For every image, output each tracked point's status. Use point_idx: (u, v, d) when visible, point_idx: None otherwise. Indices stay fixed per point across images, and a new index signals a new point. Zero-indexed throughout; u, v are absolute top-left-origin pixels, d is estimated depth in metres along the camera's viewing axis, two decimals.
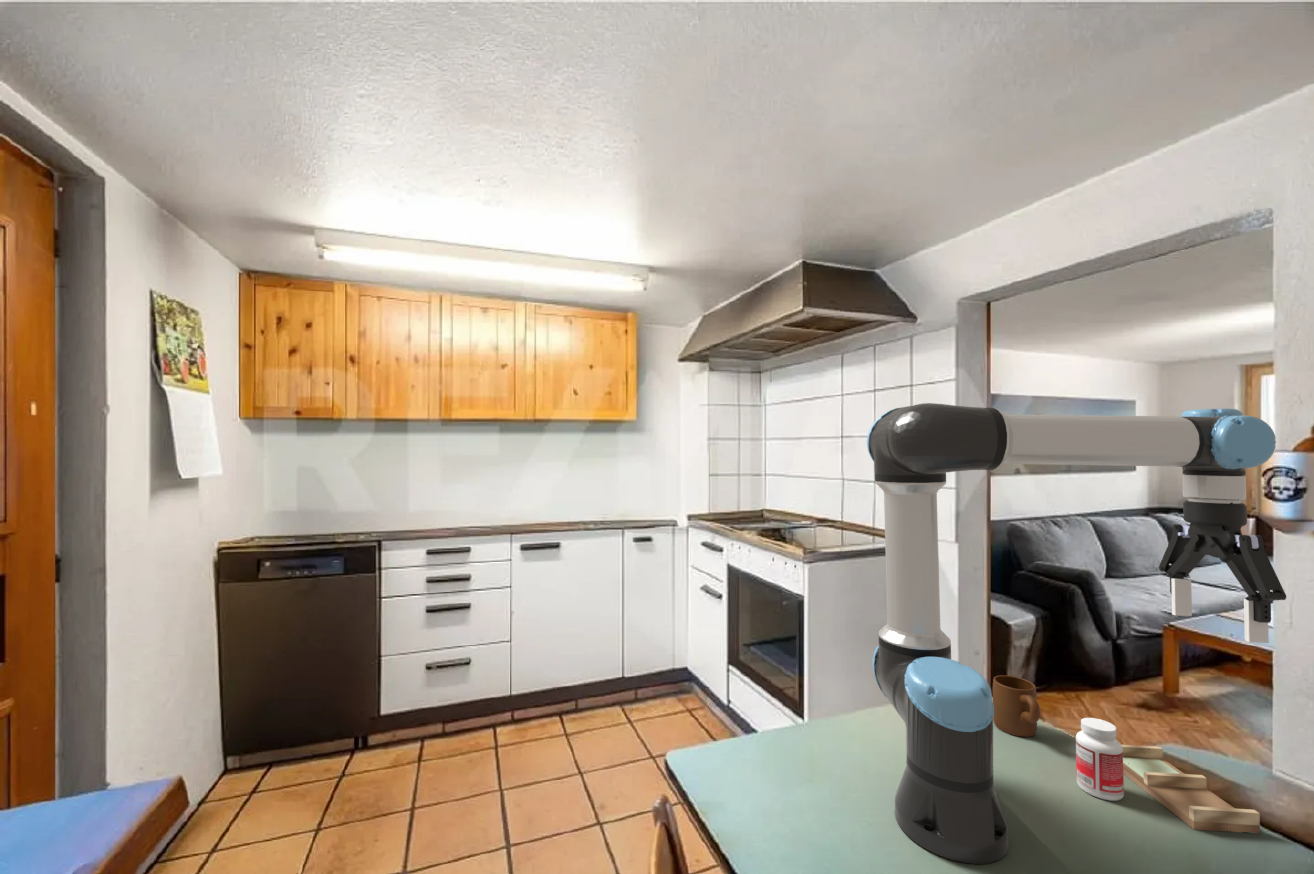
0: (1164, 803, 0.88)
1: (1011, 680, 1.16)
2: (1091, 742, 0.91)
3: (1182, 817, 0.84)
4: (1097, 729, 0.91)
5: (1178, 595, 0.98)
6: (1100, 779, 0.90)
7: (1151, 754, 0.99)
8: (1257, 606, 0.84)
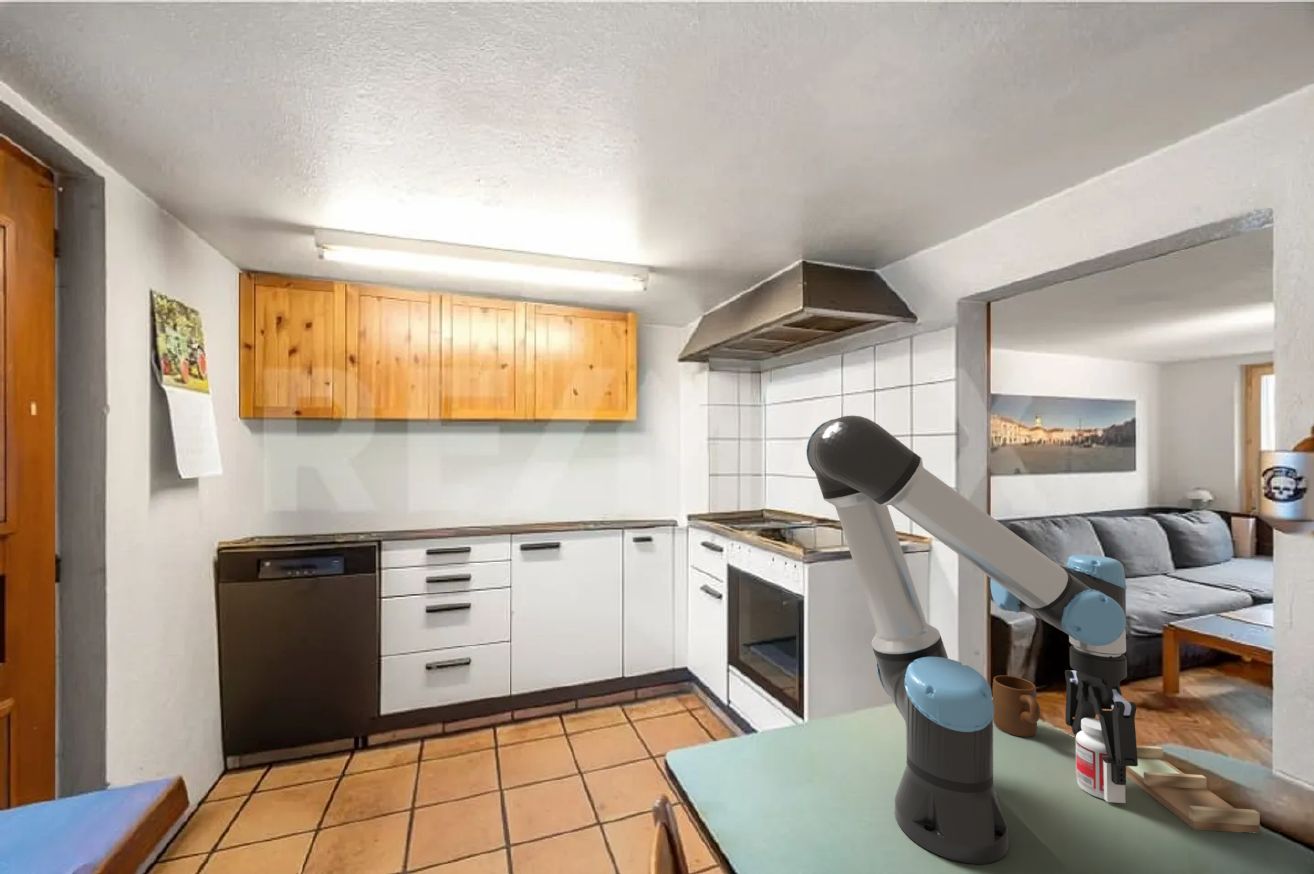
0: (1164, 803, 0.88)
1: (1011, 680, 1.16)
2: (1092, 742, 0.91)
3: (1182, 817, 0.84)
4: (1097, 729, 0.91)
5: None
6: (1100, 779, 0.90)
7: (1151, 754, 0.99)
8: (1114, 768, 0.88)
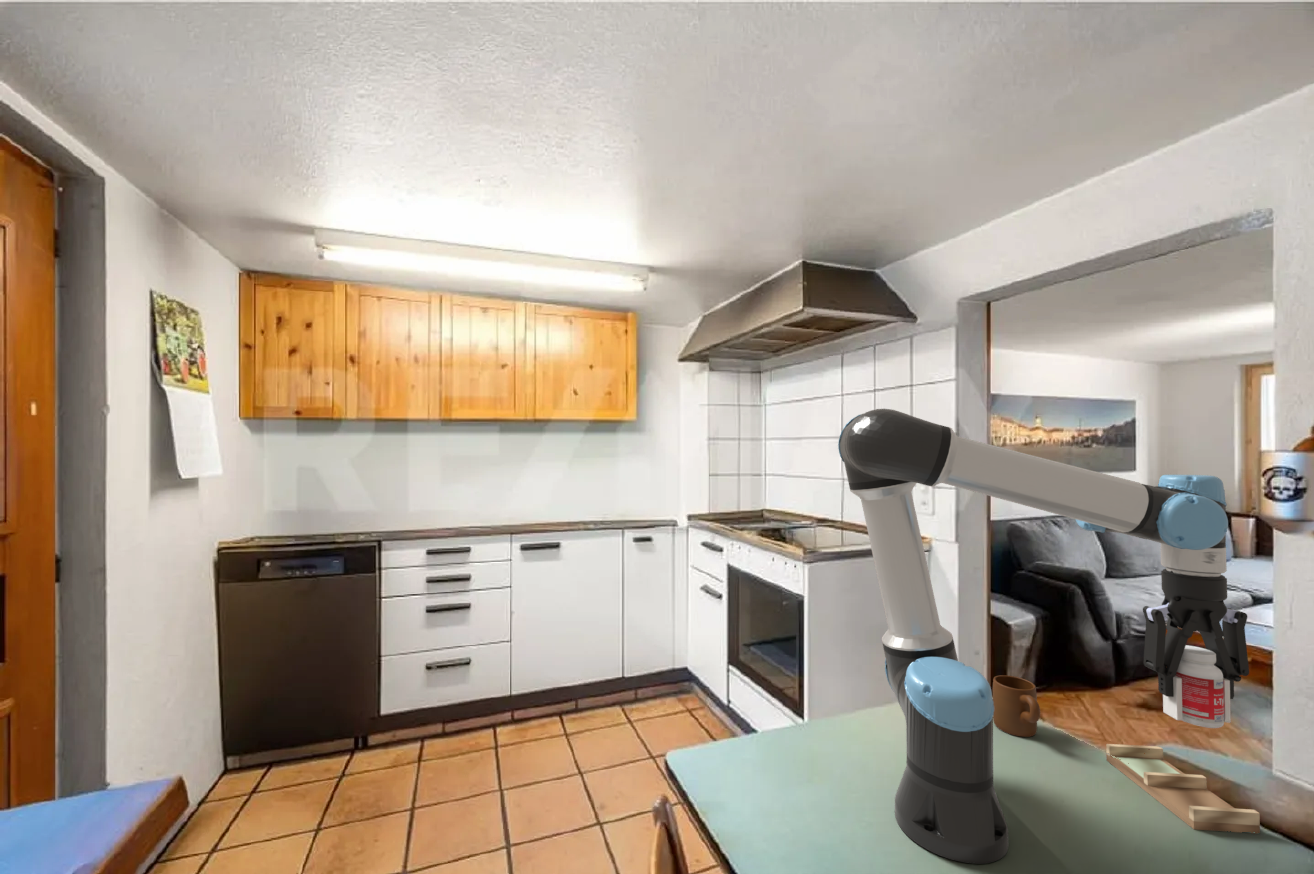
0: (1164, 803, 0.88)
1: (1011, 680, 1.16)
2: None
3: (1182, 817, 0.84)
4: None
5: None
6: None
7: (1151, 754, 0.99)
8: None
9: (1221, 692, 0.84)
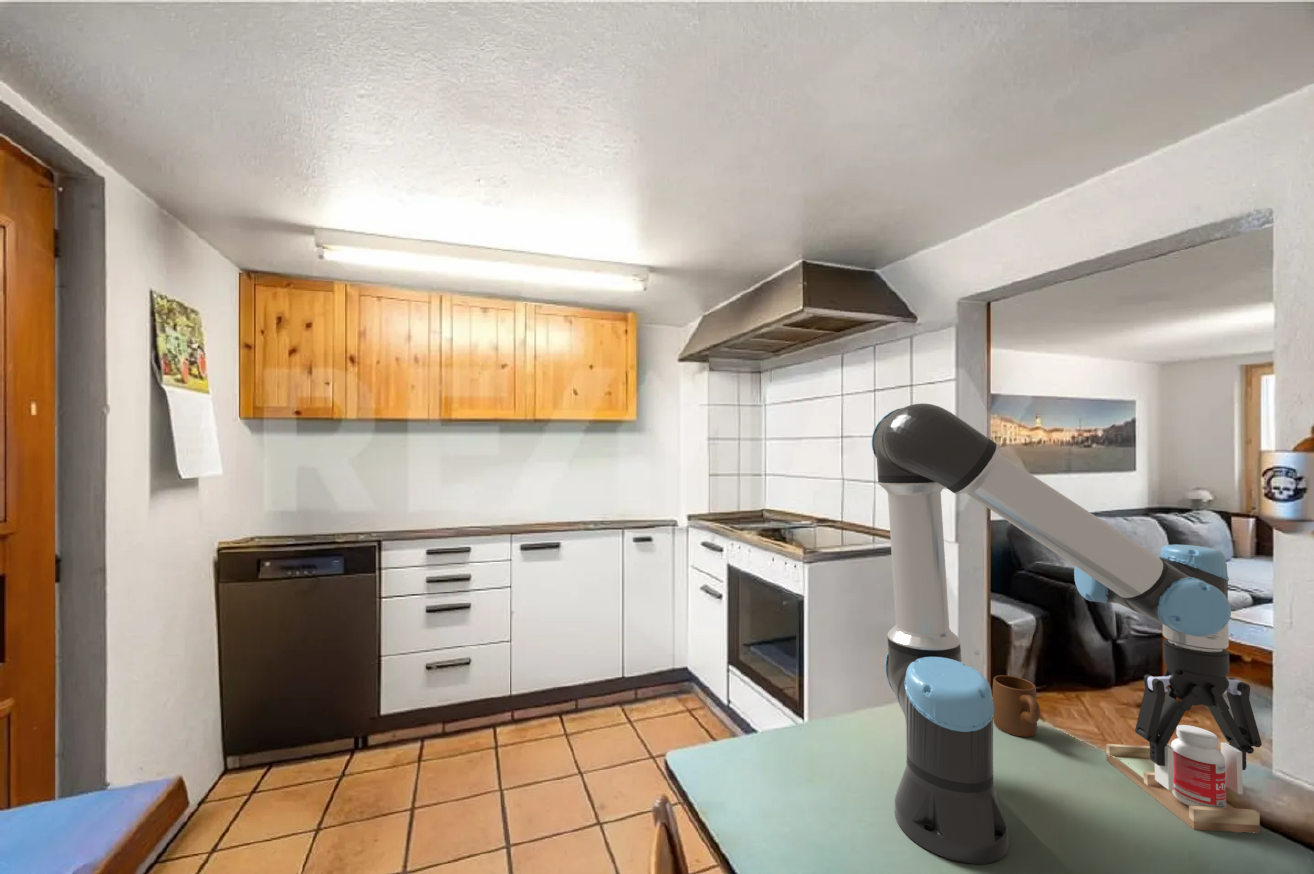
0: (1164, 803, 0.88)
1: (1011, 680, 1.16)
2: None
3: (1182, 817, 0.84)
4: (1177, 727, 0.89)
5: None
6: None
7: None
8: None
9: (1223, 777, 0.84)
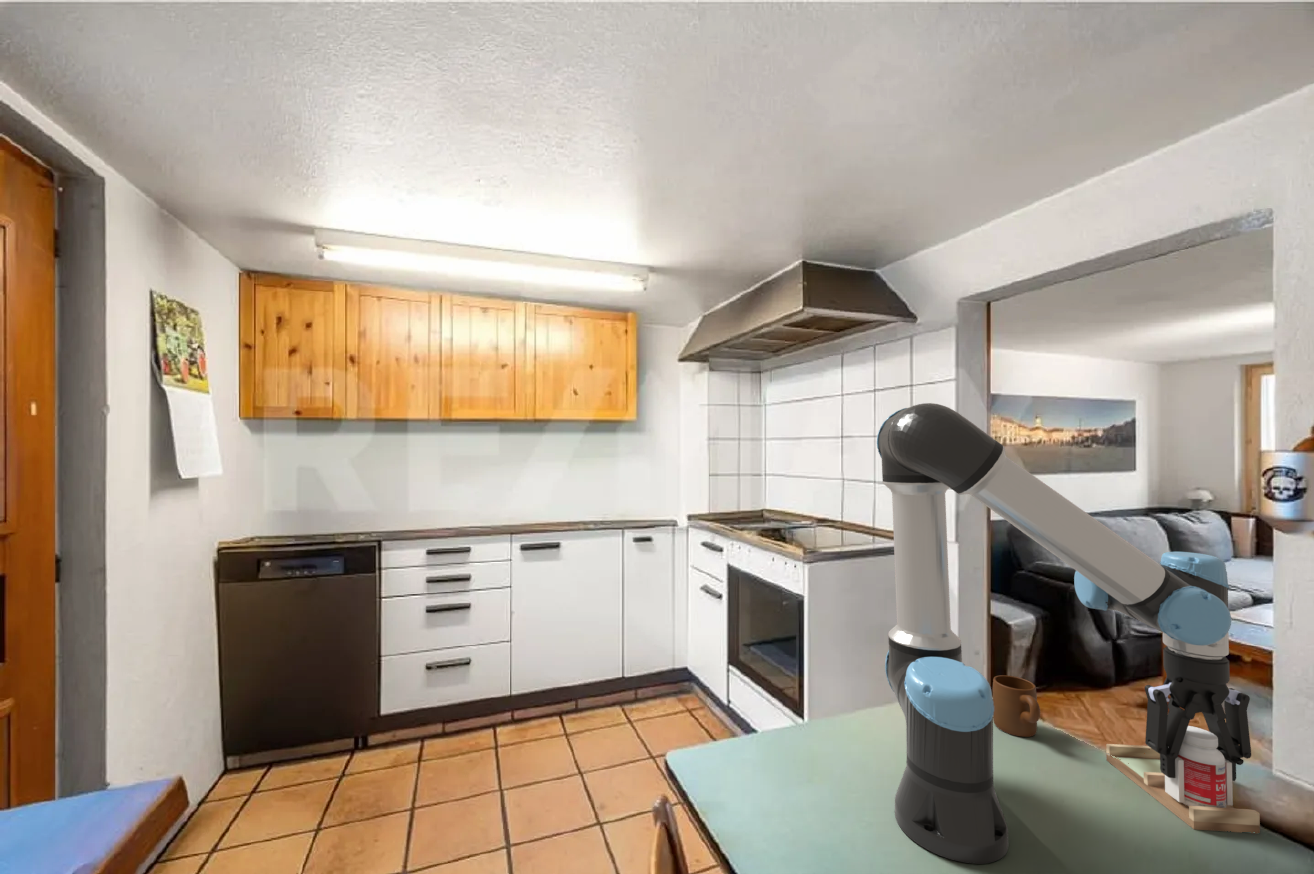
0: (1164, 803, 0.88)
1: (1011, 680, 1.16)
2: None
3: (1182, 817, 0.84)
4: None
5: None
6: None
7: (1151, 754, 0.99)
8: None
9: (1223, 777, 0.84)
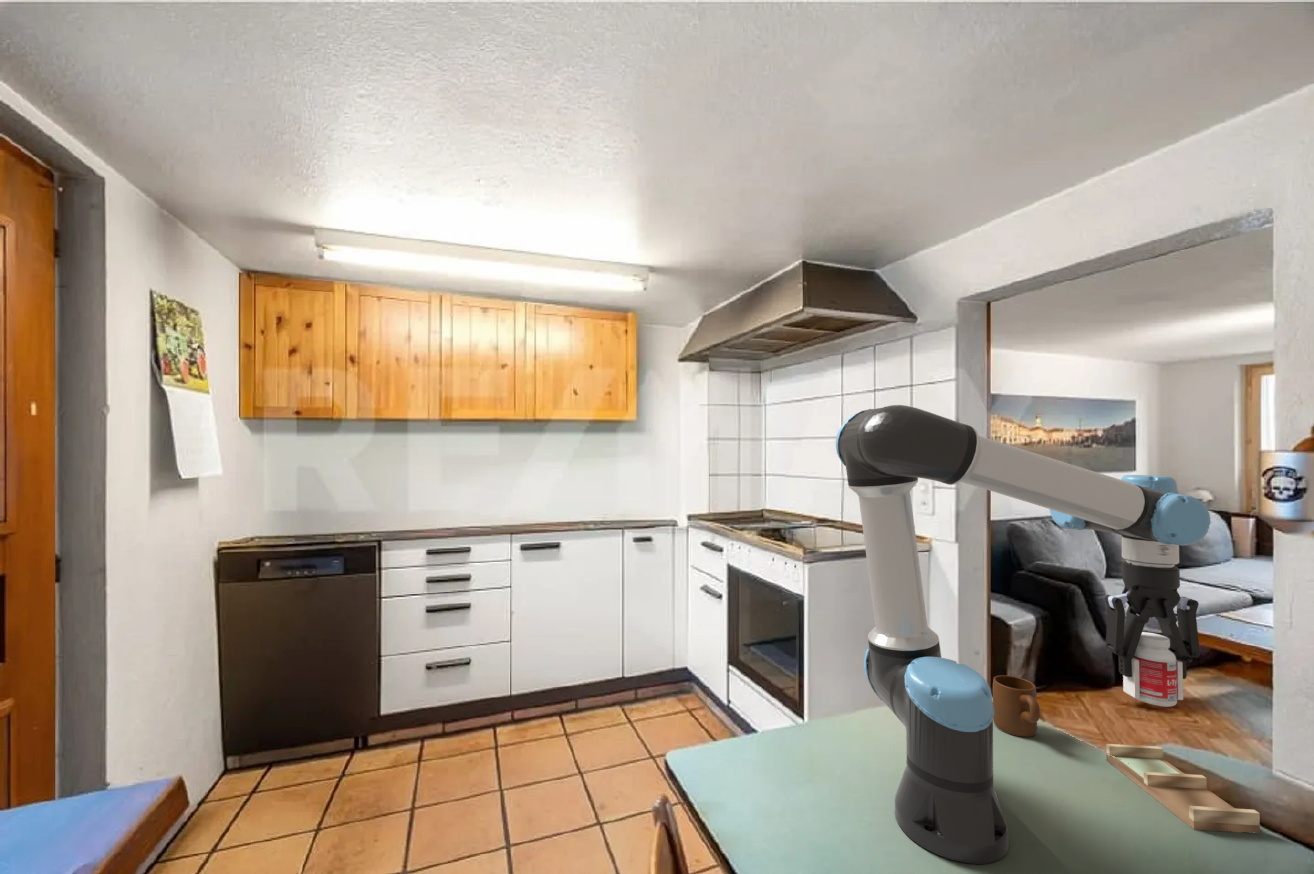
0: (1164, 803, 0.88)
1: (1011, 680, 1.16)
2: None
3: (1182, 817, 0.84)
4: None
5: None
6: None
7: (1151, 754, 0.99)
8: None
9: (1174, 674, 0.93)
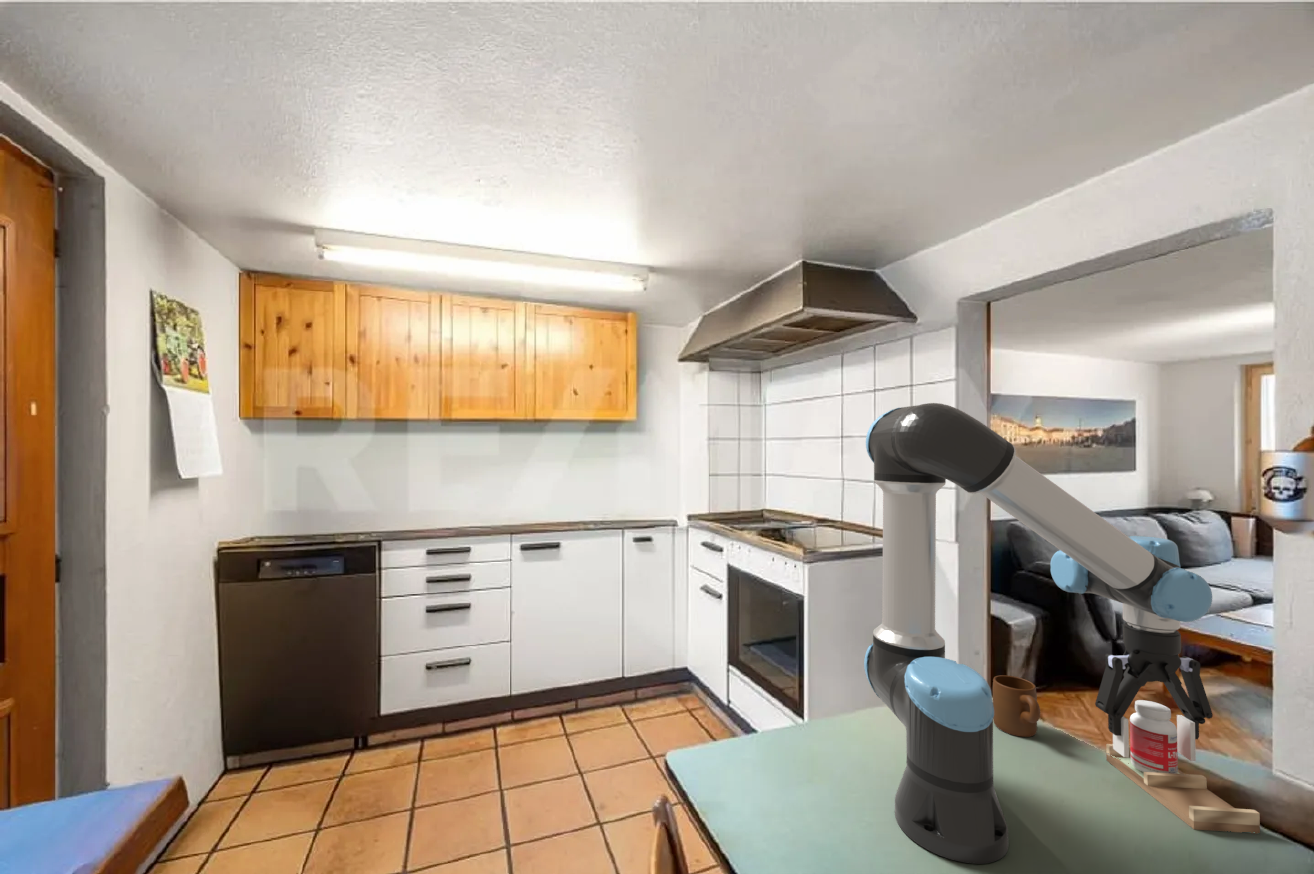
0: (1164, 803, 0.88)
1: (1011, 680, 1.16)
2: (1133, 713, 0.98)
3: (1182, 817, 0.84)
4: (1135, 702, 0.97)
5: (1179, 733, 0.96)
6: (1130, 745, 0.98)
7: None
8: None
9: (1175, 746, 0.93)
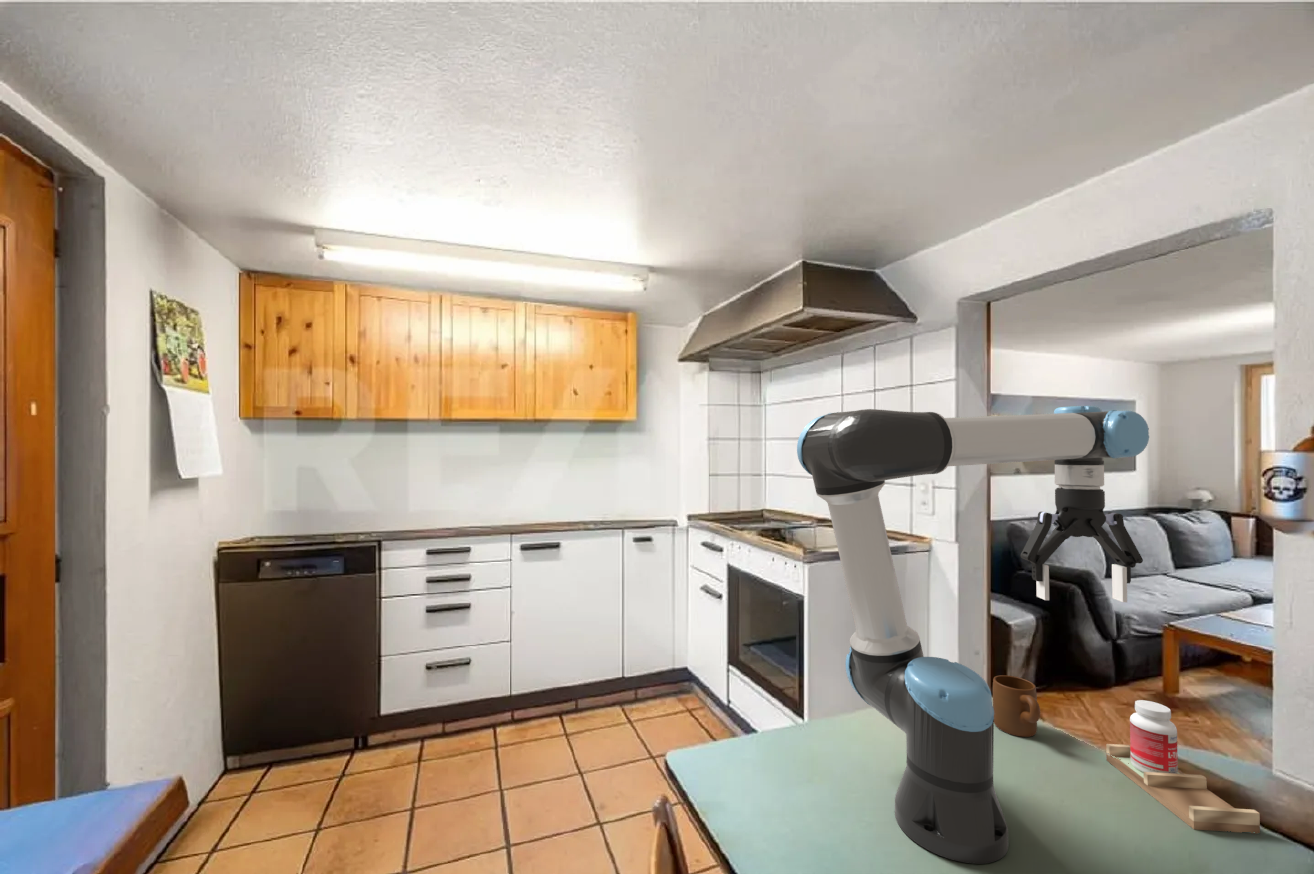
0: (1164, 803, 0.88)
1: (1011, 680, 1.16)
2: None
3: (1182, 817, 0.84)
4: (1135, 702, 0.97)
5: (1114, 580, 1.04)
6: (1130, 745, 0.98)
7: None
8: None
9: (1175, 746, 0.93)
